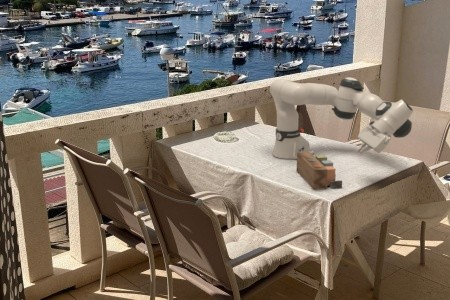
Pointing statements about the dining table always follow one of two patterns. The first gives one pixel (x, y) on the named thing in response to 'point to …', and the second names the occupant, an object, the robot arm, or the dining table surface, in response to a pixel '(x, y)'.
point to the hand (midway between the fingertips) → (359, 152)
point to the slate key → (327, 163)
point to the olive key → (321, 158)
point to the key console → (314, 172)
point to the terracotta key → (330, 174)
